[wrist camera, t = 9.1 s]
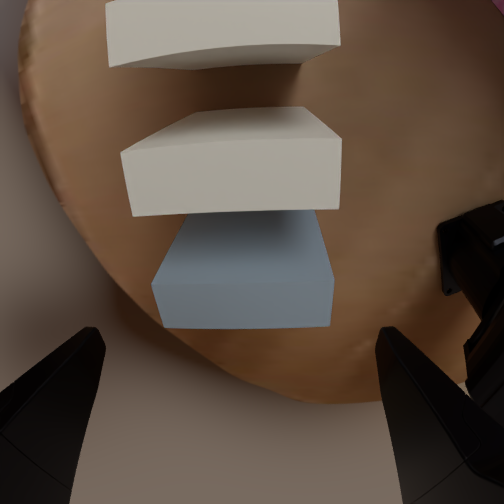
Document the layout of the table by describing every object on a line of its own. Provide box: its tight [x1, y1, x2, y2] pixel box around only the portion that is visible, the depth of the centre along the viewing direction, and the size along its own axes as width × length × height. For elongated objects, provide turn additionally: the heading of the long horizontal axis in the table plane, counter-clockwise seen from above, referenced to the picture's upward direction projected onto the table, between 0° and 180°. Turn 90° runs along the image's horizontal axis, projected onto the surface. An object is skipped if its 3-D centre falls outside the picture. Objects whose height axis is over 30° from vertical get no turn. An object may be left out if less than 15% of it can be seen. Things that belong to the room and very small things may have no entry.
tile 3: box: [105, 0, 341, 70], centre depth 10 cm, size 2×6×10 cm, turn 93°
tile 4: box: [120, 107, 342, 217], centre depth 13 cm, size 2×6×10 cm, turn 93°
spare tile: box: [151, 209, 335, 329], centre depth 15 cm, size 2×6×10 cm, turn 94°
